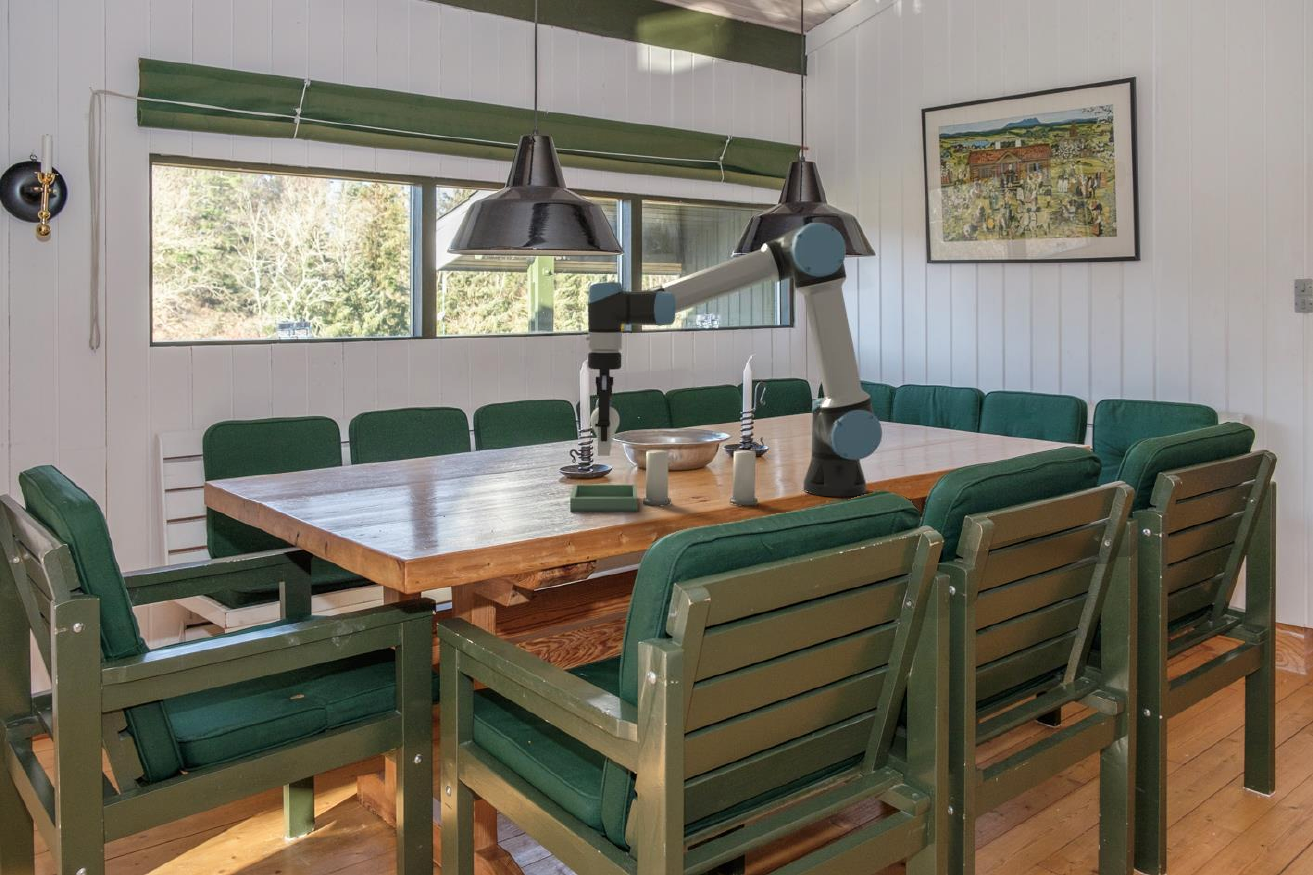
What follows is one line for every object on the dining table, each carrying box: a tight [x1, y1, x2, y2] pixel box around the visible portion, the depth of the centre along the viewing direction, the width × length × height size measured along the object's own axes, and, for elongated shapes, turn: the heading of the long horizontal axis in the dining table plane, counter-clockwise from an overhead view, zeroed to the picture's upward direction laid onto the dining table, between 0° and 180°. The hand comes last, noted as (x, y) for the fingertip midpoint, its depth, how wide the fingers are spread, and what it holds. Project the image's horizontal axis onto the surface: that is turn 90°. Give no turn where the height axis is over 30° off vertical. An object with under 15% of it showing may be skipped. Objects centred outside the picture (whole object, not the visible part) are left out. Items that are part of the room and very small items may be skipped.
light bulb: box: [589, 406, 621, 452], centre depth 244 cm, size 7×7×11 cm
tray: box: [569, 484, 639, 513], centre depth 246 cm, size 15×17×3 cm
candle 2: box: [729, 449, 759, 507], centre depth 248 cm, size 6×6×12 cm
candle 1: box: [642, 449, 672, 507], centre depth 247 cm, size 6×6×12 cm
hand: (604, 452), depth 245 cm, fingers closed on light bulb, 6 cm apart
